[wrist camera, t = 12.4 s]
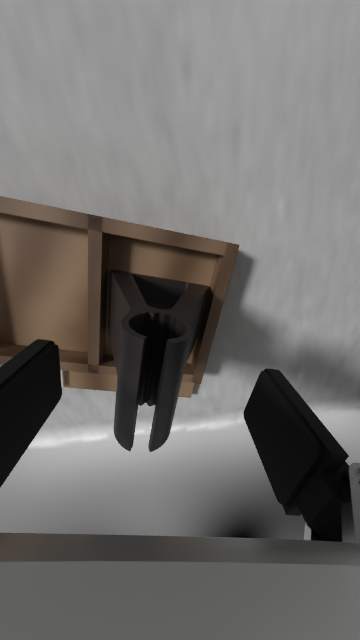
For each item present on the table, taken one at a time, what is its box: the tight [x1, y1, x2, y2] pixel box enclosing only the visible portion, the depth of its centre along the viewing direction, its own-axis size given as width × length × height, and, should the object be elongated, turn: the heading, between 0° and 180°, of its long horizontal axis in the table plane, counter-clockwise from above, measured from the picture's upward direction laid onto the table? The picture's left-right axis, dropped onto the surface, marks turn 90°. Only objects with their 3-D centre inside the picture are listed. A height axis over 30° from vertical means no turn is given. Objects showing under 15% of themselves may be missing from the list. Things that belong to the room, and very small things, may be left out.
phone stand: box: [108, 270, 209, 452], centre depth 13 cm, size 9×6×12 cm, turn 79°
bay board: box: [0, 196, 239, 398], centre depth 18 cm, size 22×18×3 cm
